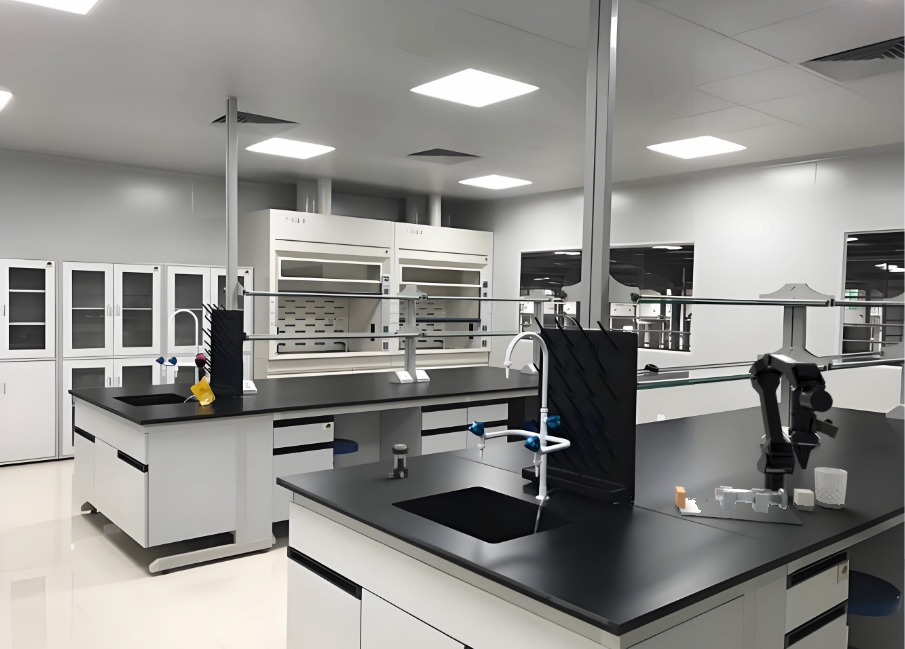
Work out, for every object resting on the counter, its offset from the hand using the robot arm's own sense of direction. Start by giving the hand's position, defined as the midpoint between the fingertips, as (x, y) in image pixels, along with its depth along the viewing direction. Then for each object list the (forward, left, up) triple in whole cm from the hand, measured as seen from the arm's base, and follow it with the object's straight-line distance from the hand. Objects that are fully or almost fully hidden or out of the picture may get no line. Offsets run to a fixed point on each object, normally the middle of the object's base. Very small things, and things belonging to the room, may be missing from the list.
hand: (802, 466), depth 181 cm
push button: (-2, -115, -12) cm, 116 cm away
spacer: (-2, +1, -12) cm, 12 cm away
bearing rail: (+7, -18, -12) cm, 23 cm away
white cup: (-7, +9, -12) cm, 17 cm away
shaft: (+7, -14, -10) cm, 19 cm away
